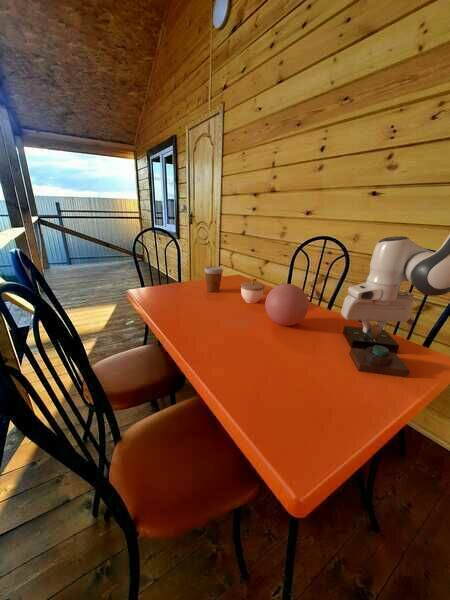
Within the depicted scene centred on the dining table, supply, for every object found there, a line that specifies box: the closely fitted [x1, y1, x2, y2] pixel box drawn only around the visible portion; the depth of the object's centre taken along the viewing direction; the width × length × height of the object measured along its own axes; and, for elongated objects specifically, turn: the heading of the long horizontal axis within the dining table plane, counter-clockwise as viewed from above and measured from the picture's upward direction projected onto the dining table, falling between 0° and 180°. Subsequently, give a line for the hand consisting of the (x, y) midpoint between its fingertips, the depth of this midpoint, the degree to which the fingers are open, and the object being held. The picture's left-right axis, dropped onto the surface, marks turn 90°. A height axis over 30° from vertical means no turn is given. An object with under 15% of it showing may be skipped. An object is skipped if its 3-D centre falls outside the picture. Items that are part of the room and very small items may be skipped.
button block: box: [349, 347, 411, 379], centre depth 70 cm, size 12×9×4 cm
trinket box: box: [240, 280, 265, 304], centre depth 117 cm, size 11×11×9 cm
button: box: [372, 345, 388, 357], centre depth 70 cm, size 4×4×2 cm
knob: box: [367, 321, 379, 339], centre depth 82 cm, size 6×2×4 cm, turn 174°
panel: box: [342, 325, 400, 355], centre depth 83 cm, size 13×11×3 cm
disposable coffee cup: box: [203, 265, 224, 293], centre depth 131 cm, size 10×10×12 cm
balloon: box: [264, 283, 310, 327], centre depth 94 cm, size 15×20×15 cm
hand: (371, 332), depth 82 cm, fingers closed on knob, 2 cm apart
